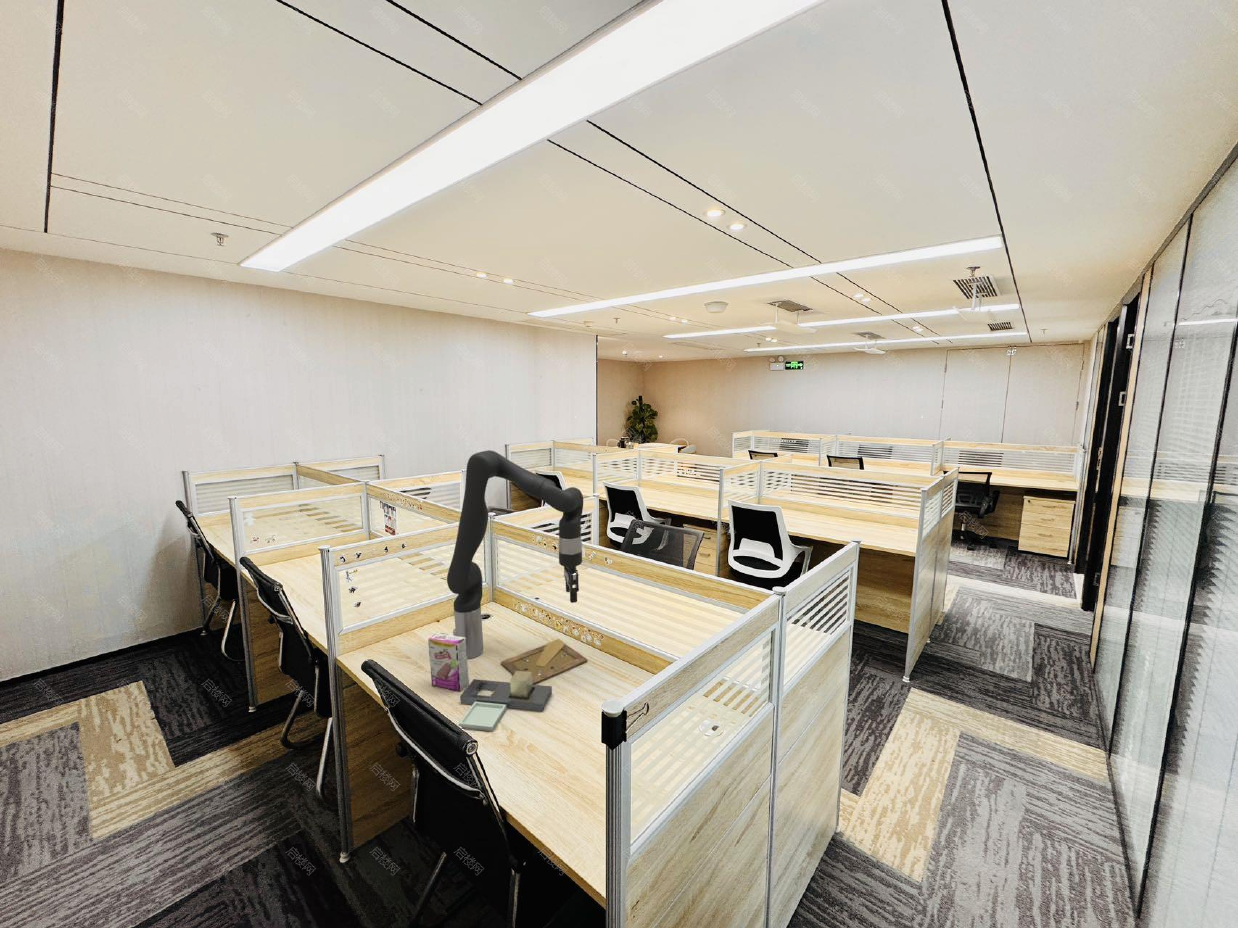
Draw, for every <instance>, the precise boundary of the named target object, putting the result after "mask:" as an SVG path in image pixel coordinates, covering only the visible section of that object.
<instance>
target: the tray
mask: <svg viewBox="0 0 1238 928" xmlns="http://www.w3.org/2000/svg"><path fill="white" fill-rule="evenodd" d="M507 710H508V708H507V707H506V705H504V704H494V703H484V702H474V704H473V705H471V707H469V709H468V711H466V713H465V714H464V715H463V716H462V718H461V720H460V721H459V722H458V727H459V726H461V727H462V728H463V730H474V731H481V732H491V733H493V731H494V730H495V728H496V727H497V726H498V724H499V722H500V721H501V719H502V718H503V716H504V714H505V713H506V711H507ZM462 728H461V729H462ZM466 728H467V729H466Z"/></svg>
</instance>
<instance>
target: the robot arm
mask: <svg viewBox="0 0 1238 928" xmlns="http://www.w3.org/2000/svg"><path fill="white" fill-rule="evenodd" d="M465 472H466V473H465V486H464V495H463V502H462V507H461V512H460V516H459V522H458V527H457V529H458V530H457V535H456V541H455V545H454V550H453V555H452V558H451V562H450V565H449V567H448V572H447V575H446V583H447V587H448V589H449V590H450V591H451V592H452V593H453V594H455V595H457V596H456V598H454V601H453V614H454V615H453V616H454V629H453V631H452V633H453V634H452V635H455V636H460V637H466V650H467V660H469V659H474V658H477V657H479V656H480V655H482V654H483V653H484V648H485V647H484V636H483V635H484V634H483V621H482V605H481V603H482V599H483V574H482V570H481V568H480V566H479V565H478V564H477V563H476V562H474V561H473V560H474V556H475V555H476V553H477V551H478V549H479V547H480V546H481V543H482V542H483V540H484V538H485V535H486V532H487V528H488V523H489V510H488V506H487V503H486V489H487V485H488V481H489V480H490V479H492V478H494V477H495V478H501V479H505V480H507V481H509V482H511V483H512V484H514V485H515V486H517V487H518V488H519V490H521V491H523V492H524V493H525V494H527V495H529V496H531V497H534V498H536V499H538V500H541V501H543V502H545V503H546V504H547V505H549V506H550V507H552V508H553V510H556V511H557V512H560V513H562V517H561V518H560V520H559V521H558V522H559V523H558V563H559V565H560V566H562V567H563V578H564V581H565V591H566V593H569V601H570V603H571V604H574V603H577V602H578V592H579V591H580V588H579V571H578V570H579V569H577V567H578V566H580V565H582V563H583V541H582V527H581V526H582V525H581V522H582V521H581V520H582V516H583V509H584V497H583V493H582V491H581V490H580V489H579V488H578V487H575V486H571V487H568V488H566V489H561V488H559V487H557V485H556V482H555V481H553V480H552V479H548V478H546V477H544V476H541V475H539V474H536V473H534V472H532V471H530V470H527V469H526V468H524V467H521V466H520V465H518V464H516V463H514V462H513V461H511V460H509V459H507V458H506V457H505V456H503V455H502V454H500V453H498V452H496V451H494V450H491V449H489V450H484V451H479V452H475V453H474V454H472V455H470V457H469V458H468V460H467V462H466V471H465Z"/></svg>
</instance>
